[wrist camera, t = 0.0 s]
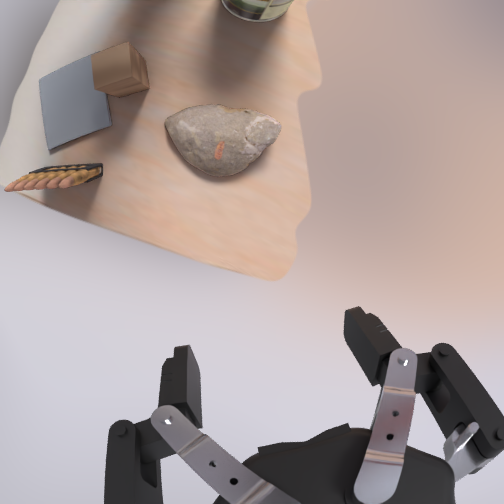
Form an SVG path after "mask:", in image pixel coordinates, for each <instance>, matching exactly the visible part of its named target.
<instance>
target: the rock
mask: <svg viewBox="0 0 504 504" xmlns="http://www.w3.org/2000/svg"><path fill="white" fill-rule="evenodd" d="M165 126H166V128H167V130H168V132H169V135H170V137H171V138H172V140H173V142H174V144H175V146H176V147H177V149H178V151H179V152H180V154H181V155H182V156H183V158H184V159H185V160H186V161H187V162H188V163H190V164H191V165H193V166H194V167H196V168H198V169H199V170H201V171H203V172H205V173H207V174H209V175H212V176H228V175H234V174H236V173H239V172H241V171H243V170H244V169H245V168H247V167H248V166H249V163H250V162H253V161H255V160H256V159H257V158H258V156H260V155H261V153H262V151H263V150H264V149H265V148H266V147H267V146H269V145H271V144H273V143H274V142H275V140H276V139H277V137H278V135H279V133H280V130H281V124H280V123H279V122H278V121H277V120H275V119H274V118H272V117H271V116H269V115H266V114H263V113H260V112H257V111H254V110H249V109H246V108H245V109H233V108H227V107H225V106H222V105H211V104H209V105H200V106H195V107H189V108H186V109H184V110H182V111H180V112H178V113H176V114H175V115H173V116H170V117H169V118H167V119H166V120H165Z"/></svg>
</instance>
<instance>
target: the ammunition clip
mask: <svg viewBox="0 0 504 504" xmlns="http://www.w3.org/2000/svg"><path fill="white" fill-rule="evenodd" d="M101 176H103V164H102V163H99V164H78V165H63V166H50V167H44V168H41V169H38V170H35V171H32V172H29V174H28V175H25V176H22V177H21V178H20V179H18V180H16V181H14V182H12V183H10V184H9V185H8V186H7V187H6V188H5V191H6V192H11V191H22V190H33V189H37V190H40V189H45V188H48V189H54V188H57V187H59V188H68V187H70V186H74V185H78V184H81V183H83V182H90V181H92V180H94V179H96V178H99V177H101Z"/></svg>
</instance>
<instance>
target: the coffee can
mask: <svg viewBox="0 0 504 504" xmlns="http://www.w3.org/2000/svg"><path fill="white" fill-rule="evenodd" d="M221 1H222V3H223V5H224V7H225V8H226V9H227V10H228V11H229V12H230V13H231V14H233V15H234V16H236V17H238V18H240V19H243V20H247V21H252V22H266V21H271V20H274V19H276V18H278V17H280V16H281V15H283V14H284V13H285V12H286V11H287V9H288V7H289V6H290V4H291V3H292V2H293V1H294V0H221Z"/></svg>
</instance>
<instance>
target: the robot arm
mask: <svg viewBox="0 0 504 504" xmlns="http://www.w3.org/2000/svg"><path fill="white" fill-rule="evenodd" d="M344 338H345V341H346V342H347V345H348V346H349V348H350V350H351V351H352V352H353V355H354V356H355V358H356V359H357V361H358V363H359V365H360V366H361V368H362V370H363V371H364V373H365V375H366V376H367V378H368V380H369V381H370V383H371V385H372V386H375V385H377V384H380V386H381V387H382V388H381V391H380V395H379V399H378V403H377V407H376V410H375V414H374V417H373V421H372V424H371V427H370V429H365V428H350V427H349V424H348V423H346V424H343V425H341V426H338V427H334V428H332V429H328V430H326V431H324V432H322V433H321V434H319V435H317V436H315V437H313V438H311V439H310V440H308V441H305V442H285V443H284V442H282V443H276V444H272V445H267V446H262V447H258V452H259V453H257V454H255V455H253V456H251V457H249V458H248V459H247V460H245V461H244V462H243V463H242V464H241V463H240V462H239V461H238V460H236V459H235V458H234V457H233V456H231V455H230V454H229V453H228V452H226V451H225V450H224V449H223V448H222V447H221V446H219V445H218V444H217V443H216V442H215V441H214V440H212V439H211V438H210V437H209V436H208V435H206V434H205V435H204V434H203V433H202V432H200V431H199V430H198V429H199V428H202V409H201V384H200V371H199V367H198V364H197V361H196V359H195V357H194V354H193V352H192V349H191V347H190V345H185V346H178V347H175V348H174V357H173V358H167V359H166V361H165V363H164V364H163V366H162V374H161V375H162V376H161V383H160V392H159V404H158V408H157V409H156V410H155V411H154V412H153V413H152V415H151V418H149V419H147V420H144V421H141V422H138V423H136V424H133V423H132V422H130V421H128V420H119V421H117V422H115V423H114V424H113V425H112V426H111V428H110V429H109V435H108V444H107V455H106V470H105V490H104V504H163V496H162V483H161V466H160V459H162V458H165V457H168V456H171V455H173V454H176V453H177V454H178V455H179V456H180V457H181V458H182V459H183V460H184V461H185V462H186V463H187V464H188V465H189V466H190V467H191V468H192V469H193V470H194V471H195V472H196V473H197V474H198V475H199V476H200V477H201V478H202V479H203V480H204V481H205V482H206V483H207V484H209V485H210V486H211V487H212V488H213V489H214V490H215V491H216V492H217V493H219V494H220V495H219V496H218V498H217V499H216V500H215V502H214V503H213V504H456V503H455V496H454V487H455V482H456V481H458V480H459V479H461V478H463V477H464V476H466V475H467V474H474V473H476V472H478V471H479V470H480V469H482V468H483V467H484V466H485V465H487V464H488V463H489V462H490V461H491V460H493V459H494V458H495V457H496V456H497V455H498V454H499V453H500V452H502V451H503V450H504V416H503V414H502V413H501V411H500V410H499V408H498V407H497V405H496V404H495V402H494V401H493V400H492V398H491V397H490V395H489V394H488V392H487V391H486V390H485V388H484V387H483V385H482V384H481V383H480V381H479V380H478V379H477V377H476V376H475V375H474V373H473V372H472V371H471V369H470V368H469V367H468V365H467V364H466V363H465V361H464V360H463V359H462V358H461V356H460V355H459V354H458V353H457V351H456V350H455V349H454V348H453V347H452V346H451V345H449V344H446V343H439V344H437V345H435V346H434V347H433V348H432V351H431V352H428V353H422V354H415V353H414V352H413V351H412V350H410V349H407V348H402V347H401V346H400V344H399V343H398V342H397V341H396V339H395V338H394V337H393V335H392V334H391V333H390V332H389V331H388V330H387V328H386V327H385V325H383V323H382V322H381V320H380V319H379V318H378V317H376V316H375V315H373V314H371V313H369V314H365V312H364V311H363V310H362V308H361V307H359V306H358V307H355V308H352V309H348V310H346V311H345V319H344ZM417 393H420V394H421V395H422V397H423V399H424V401H425V402H426V404H427V406H428V407H429V409H430V411H431V412H432V414H433V416H434V418H435V420H436V421H437V423H438V425H439V427H440V429H441V431H442V432H443V434H444V436H445V438H446V441H445V443H444V447H443V449H444V454H445V460H443V459H441V458H439V457H436V456H433V455H431V454H428V453H425V452H423V451H420V450H417V449H415V448H413V447H410V446H408V445H407V440H408V436H409V431H410V426H411V421H412V415H413V410H414V403H415V397H416V394H417Z"/></svg>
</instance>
